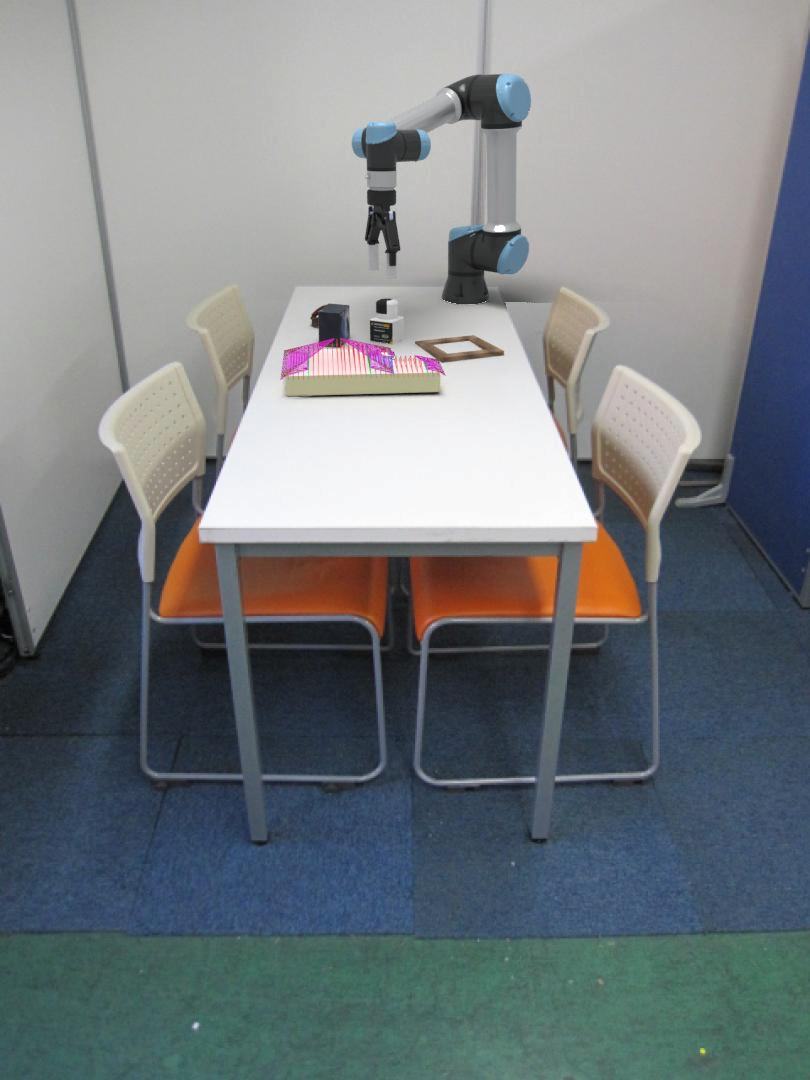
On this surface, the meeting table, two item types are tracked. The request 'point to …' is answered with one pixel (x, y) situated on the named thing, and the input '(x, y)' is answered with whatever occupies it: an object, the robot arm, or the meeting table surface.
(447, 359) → the brown square frame
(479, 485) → the meeting table surface
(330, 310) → the small box
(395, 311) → the medicine bottle
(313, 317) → the pottery mug
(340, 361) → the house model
